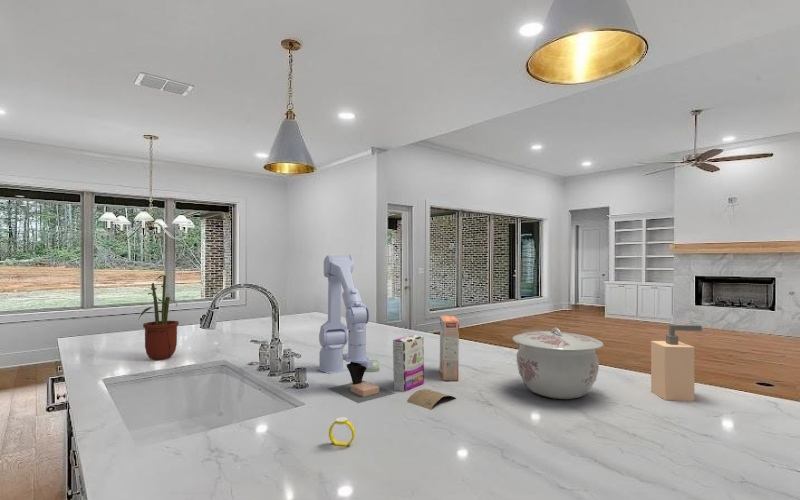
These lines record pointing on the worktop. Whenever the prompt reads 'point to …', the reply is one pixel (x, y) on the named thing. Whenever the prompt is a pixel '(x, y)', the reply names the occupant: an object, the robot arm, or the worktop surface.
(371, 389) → the tile
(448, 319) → the cracker box
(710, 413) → the worktop surface
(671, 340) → the soap dispenser
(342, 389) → the mat
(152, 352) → the potted plant
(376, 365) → the pale green dome
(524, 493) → the worktop surface
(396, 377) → the candy bar box
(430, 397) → the clay tablet
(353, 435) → the watch
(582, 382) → the chamber pot
